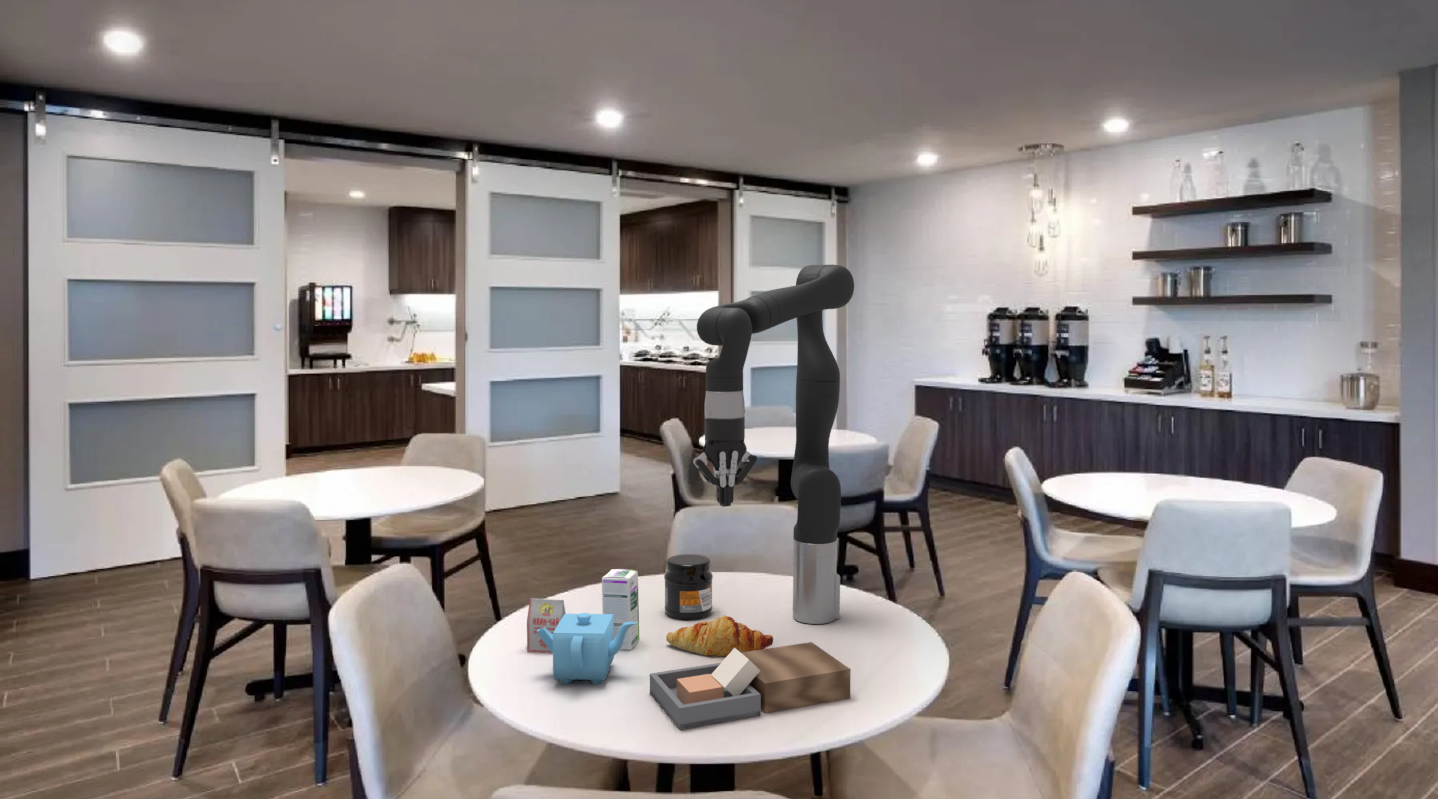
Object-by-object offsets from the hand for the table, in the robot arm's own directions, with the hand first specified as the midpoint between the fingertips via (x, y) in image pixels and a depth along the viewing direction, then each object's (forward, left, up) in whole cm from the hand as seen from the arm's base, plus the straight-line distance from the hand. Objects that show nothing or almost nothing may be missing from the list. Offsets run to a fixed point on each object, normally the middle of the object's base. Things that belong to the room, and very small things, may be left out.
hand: (724, 505), depth 172 cm
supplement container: (-2, -25, -29) cm, 39 cm away
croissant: (0, -3, -29) cm, 29 cm away
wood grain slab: (-4, +20, -29) cm, 35 cm away
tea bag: (+31, -15, -29) cm, 45 cm away
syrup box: (+17, -12, -29) cm, 36 cm away
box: (+12, +20, -29) cm, 37 cm away
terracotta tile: (+13, +20, -25) cm, 34 cm away
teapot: (+27, +1, -29) cm, 40 cm away
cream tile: (+6, +21, -25) cm, 33 cm away
